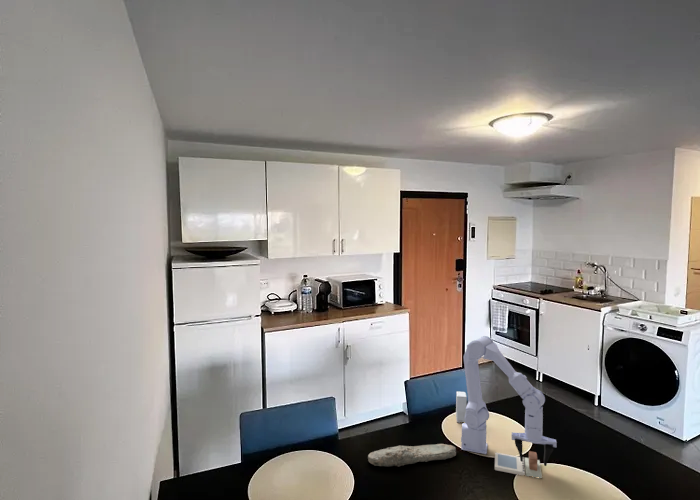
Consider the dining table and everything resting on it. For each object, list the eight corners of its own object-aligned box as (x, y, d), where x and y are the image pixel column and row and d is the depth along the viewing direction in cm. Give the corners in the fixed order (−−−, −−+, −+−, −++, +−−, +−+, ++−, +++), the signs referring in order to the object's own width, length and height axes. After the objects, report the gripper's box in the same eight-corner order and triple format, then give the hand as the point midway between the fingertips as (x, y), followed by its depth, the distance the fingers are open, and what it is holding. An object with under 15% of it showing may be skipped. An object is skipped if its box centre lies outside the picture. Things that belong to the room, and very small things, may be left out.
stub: (525, 475, 138) (526, 461, 138) (524, 460, 147) (524, 446, 147) (541, 479, 136) (542, 464, 136) (539, 463, 145) (539, 449, 145)
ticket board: (494, 469, 142) (494, 466, 142) (495, 455, 151) (495, 451, 151) (525, 475, 138) (525, 472, 138) (523, 460, 147) (523, 457, 147)
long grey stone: (461, 464, 148) (449, 451, 157) (462, 450, 148) (450, 438, 158) (371, 471, 140) (364, 457, 150) (372, 456, 141) (365, 443, 150)
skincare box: (466, 423, 176) (466, 397, 176) (456, 422, 177) (456, 396, 177) (465, 417, 182) (465, 391, 182) (455, 416, 183) (456, 391, 183)
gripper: (555, 423, 142) (554, 460, 143) (511, 416, 147) (511, 452, 148) (557, 432, 136) (556, 471, 136) (511, 425, 141) (511, 462, 141)
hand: (533, 462), depth 142 cm, fingers open, 7 cm apart
